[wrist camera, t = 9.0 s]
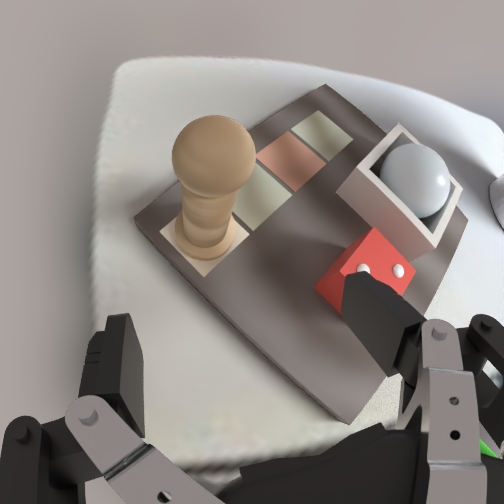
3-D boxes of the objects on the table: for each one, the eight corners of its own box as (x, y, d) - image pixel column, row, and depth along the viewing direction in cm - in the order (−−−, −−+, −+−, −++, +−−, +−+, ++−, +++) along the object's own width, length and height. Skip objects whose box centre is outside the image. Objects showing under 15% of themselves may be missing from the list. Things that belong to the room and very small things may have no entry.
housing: (379, 146, 29) (398, 122, 25) (438, 206, 28) (463, 188, 24) (335, 192, 26) (356, 166, 22) (406, 263, 25) (435, 248, 21)
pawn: (205, 196, 23) (220, 83, 13) (245, 234, 23) (288, 136, 12) (163, 231, 22) (145, 127, 11) (203, 273, 21) (215, 192, 11)
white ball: (385, 157, 28) (419, 118, 22) (430, 202, 27) (471, 171, 21) (354, 192, 26) (393, 149, 20) (405, 243, 25) (453, 213, 19)
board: (321, 92, 32) (325, 83, 31) (459, 225, 30) (468, 219, 28) (136, 225, 23) (133, 217, 22) (341, 422, 21) (350, 425, 19)
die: (346, 248, 24) (374, 225, 20) (383, 285, 24) (417, 270, 19) (313, 287, 23) (339, 270, 18) (354, 327, 22) (387, 318, 18)
